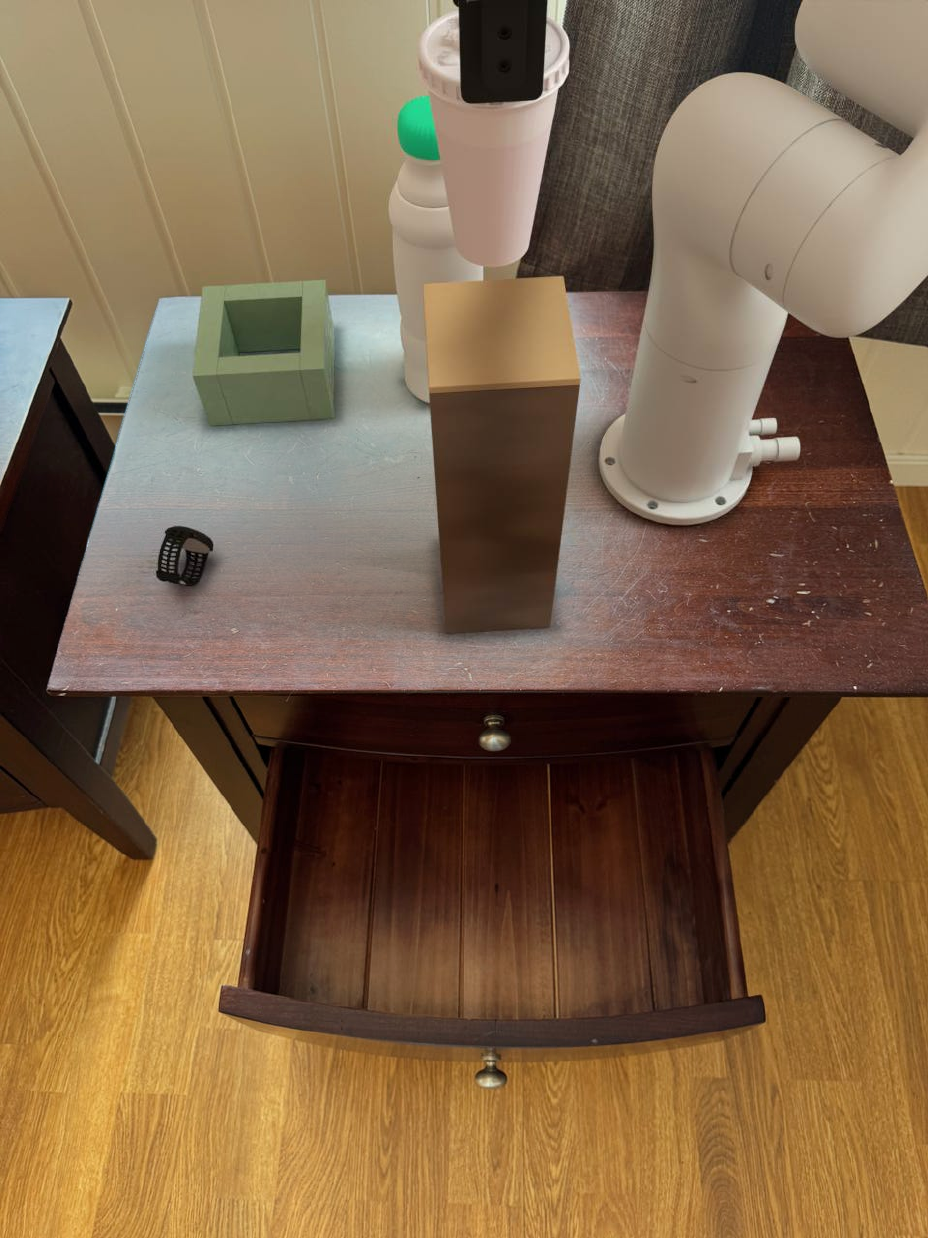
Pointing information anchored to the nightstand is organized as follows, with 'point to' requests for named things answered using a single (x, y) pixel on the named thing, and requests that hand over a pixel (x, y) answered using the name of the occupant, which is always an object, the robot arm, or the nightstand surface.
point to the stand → (273, 379)
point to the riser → (500, 445)
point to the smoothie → (489, 146)
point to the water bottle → (421, 236)
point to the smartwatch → (191, 544)
